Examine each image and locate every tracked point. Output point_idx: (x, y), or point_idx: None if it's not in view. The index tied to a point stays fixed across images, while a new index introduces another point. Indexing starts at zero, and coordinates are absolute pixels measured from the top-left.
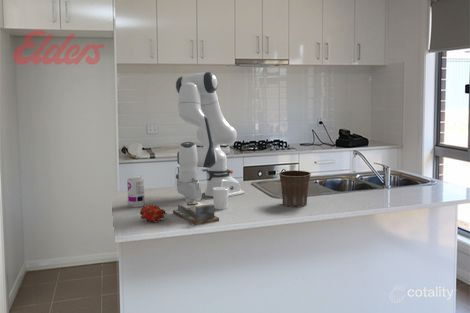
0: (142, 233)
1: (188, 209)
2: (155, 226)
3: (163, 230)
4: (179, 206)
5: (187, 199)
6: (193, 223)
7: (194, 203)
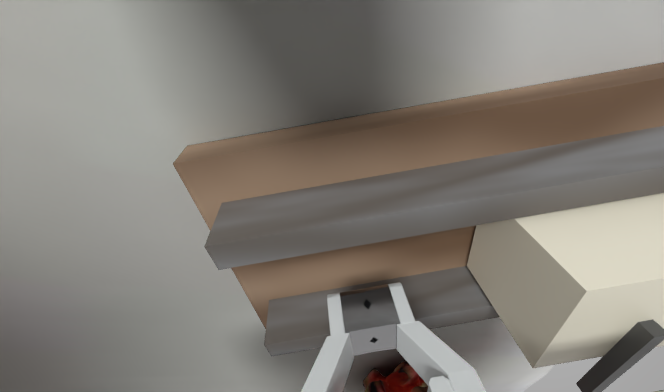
0: (516, 385)
1: (481, 311)
2: (473, 365)
3: None
4: (314, 344)
5: (342, 384)
6: None
7: (635, 358)
